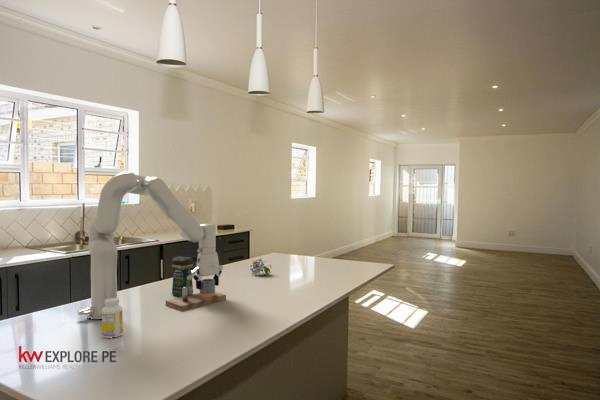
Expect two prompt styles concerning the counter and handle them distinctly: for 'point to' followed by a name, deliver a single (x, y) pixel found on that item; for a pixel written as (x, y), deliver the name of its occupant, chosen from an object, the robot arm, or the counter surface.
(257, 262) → the passion flower
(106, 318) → the supplement bottle
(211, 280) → the sleeve
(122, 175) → the robot arm
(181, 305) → the pin board
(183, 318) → the counter surface
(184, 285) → the coffee jar
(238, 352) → the counter surface
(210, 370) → the counter surface
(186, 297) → the pins
